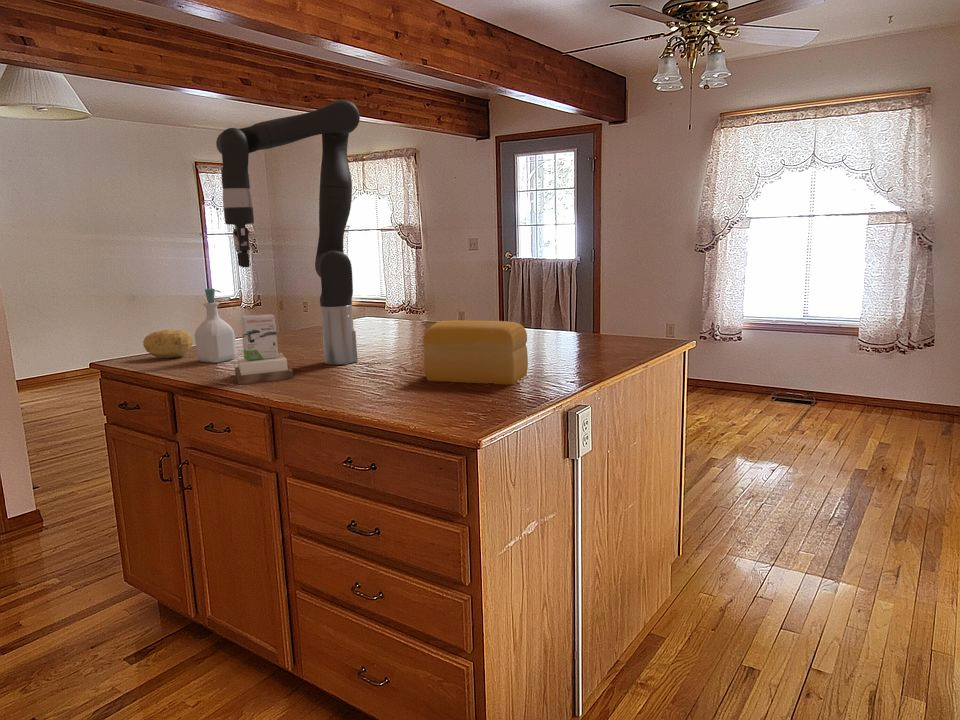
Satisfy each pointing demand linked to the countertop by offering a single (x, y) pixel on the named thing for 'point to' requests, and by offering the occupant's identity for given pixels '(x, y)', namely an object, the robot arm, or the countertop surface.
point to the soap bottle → (214, 335)
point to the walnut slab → (263, 376)
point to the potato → (168, 343)
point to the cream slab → (262, 365)
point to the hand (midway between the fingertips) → (244, 266)
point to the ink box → (259, 337)
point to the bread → (476, 352)
